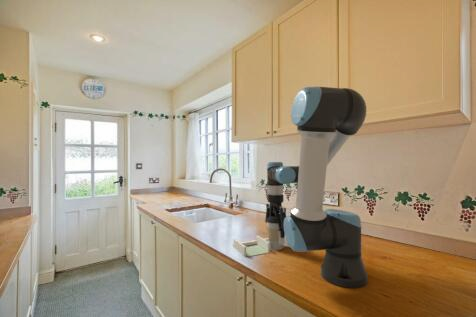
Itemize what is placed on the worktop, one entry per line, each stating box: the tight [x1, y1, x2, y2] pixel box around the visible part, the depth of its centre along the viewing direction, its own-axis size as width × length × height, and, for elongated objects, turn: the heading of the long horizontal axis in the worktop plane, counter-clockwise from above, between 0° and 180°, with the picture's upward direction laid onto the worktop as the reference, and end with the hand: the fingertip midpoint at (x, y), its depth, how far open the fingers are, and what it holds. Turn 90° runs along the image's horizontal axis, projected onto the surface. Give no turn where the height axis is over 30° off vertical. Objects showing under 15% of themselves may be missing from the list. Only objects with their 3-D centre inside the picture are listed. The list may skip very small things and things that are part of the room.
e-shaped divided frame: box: [232, 235, 291, 257], centre depth 115 cm, size 13×25×4 cm, turn 114°
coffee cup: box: [266, 215, 285, 251], centre depth 114 cm, size 9×9×15 cm
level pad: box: [245, 244, 270, 257], centre depth 110 cm, size 10×10×1 cm
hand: (276, 241), depth 114 cm, fingers closed on coffee cup, 9 cm apart
